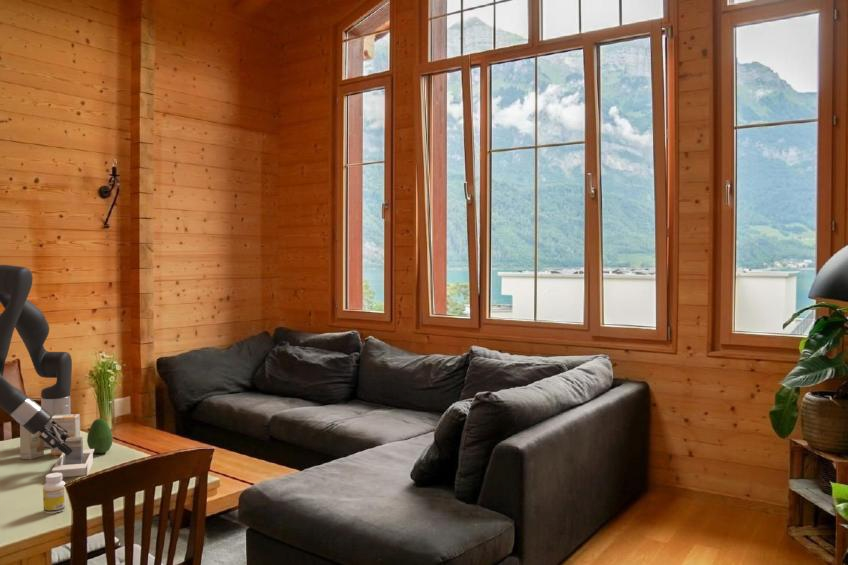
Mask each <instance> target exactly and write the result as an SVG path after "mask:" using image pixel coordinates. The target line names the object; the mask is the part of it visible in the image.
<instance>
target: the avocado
mask: <svg viewBox="0 0 848 565" xmlns="http://www.w3.org/2000/svg"><path fill="white" fill-rule="evenodd" d="M86 438H87V440H86V443H87V446H88V449H94V452H93V453H95V454H104V453H106V452H108V451H110V449H111V447H112V445H113V442H114V439H113V432H112V430H111V427H110V426H109V424H108V422H107V421H106V420H105V419H104V418H97V419H94V420H93V422H92V424H91V425H90V428H89V431H88V433H87V437H86Z"/></svg>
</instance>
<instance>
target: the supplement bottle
mask: <svg viewBox="0 0 848 565" xmlns="http://www.w3.org/2000/svg"><path fill="white" fill-rule="evenodd" d="M63 478H64V477H62V473H54V472H51V473H48V474H46V475H45V483H44V484H43V486H42V497H43V512H46V513H56V512H60V511H63V510H64V509H65V510H66V509H67V488H66V489H65V487H64V485H65V484H66V482H65V481H64V480H63ZM65 510H64V511H65ZM64 511H63V512H64ZM46 513H45V514H46ZM60 513H61V512H60ZM56 514H57V513H56Z"/></svg>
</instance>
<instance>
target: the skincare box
mask: <svg viewBox="0 0 848 565" xmlns="http://www.w3.org/2000/svg"><path fill="white" fill-rule="evenodd" d="M19 426H20V428H19V433H20V435H19V436H20V440H19V443H20V444H19V445H20V446H19V447H20V449H19V453H20V454H19V459H21V460H22V459H24V460H25V459H26V460H33V459H35V458H38V457H41V456H44V455H45V447H44V440H43V439H41V438H40V437H39V436H40V435H41V434H42V433H41V432H40V431H38V432H37V433H36V434H32V433H30V432H29V431H28V430H27V429H25V428H24V427H23V426H22V425H20V424H19Z"/></svg>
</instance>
